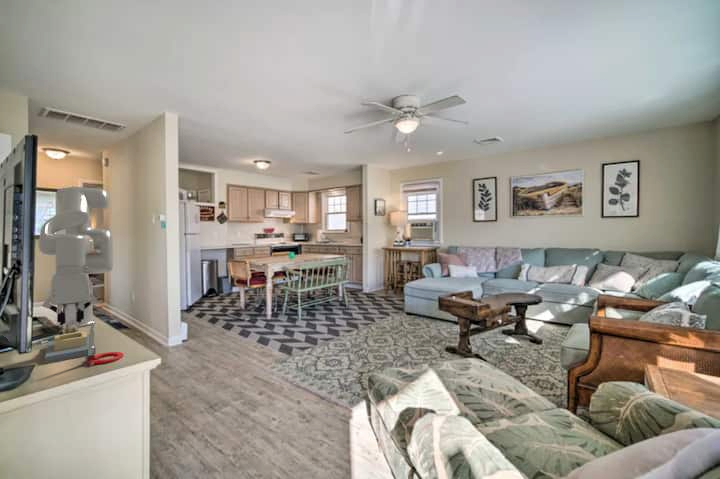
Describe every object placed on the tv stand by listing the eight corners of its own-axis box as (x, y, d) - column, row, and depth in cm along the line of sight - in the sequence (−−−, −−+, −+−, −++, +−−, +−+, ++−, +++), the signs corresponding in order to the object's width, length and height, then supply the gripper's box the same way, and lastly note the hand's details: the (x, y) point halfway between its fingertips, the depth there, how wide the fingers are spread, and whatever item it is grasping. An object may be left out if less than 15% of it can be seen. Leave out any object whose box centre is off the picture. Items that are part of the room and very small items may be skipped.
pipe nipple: (62, 331, 108) (62, 303, 107) (78, 329, 110) (78, 301, 110) (62, 334, 105) (62, 305, 104) (78, 332, 107) (78, 303, 107)
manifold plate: (47, 347, 110) (47, 333, 110) (91, 339, 118) (91, 326, 118) (45, 363, 97) (45, 347, 97) (95, 353, 105) (95, 339, 105)
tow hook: (119, 353, 107) (84, 360, 100) (121, 316, 107) (86, 320, 100) (126, 360, 102) (89, 368, 95) (128, 321, 102) (92, 325, 95)
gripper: (101, 267, 116) (101, 316, 116) (36, 271, 104) (36, 325, 104) (103, 269, 110) (103, 320, 111) (35, 273, 99) (35, 330, 99)
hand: (70, 322), depth 107 cm, fingers closed on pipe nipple, 4 cm apart
